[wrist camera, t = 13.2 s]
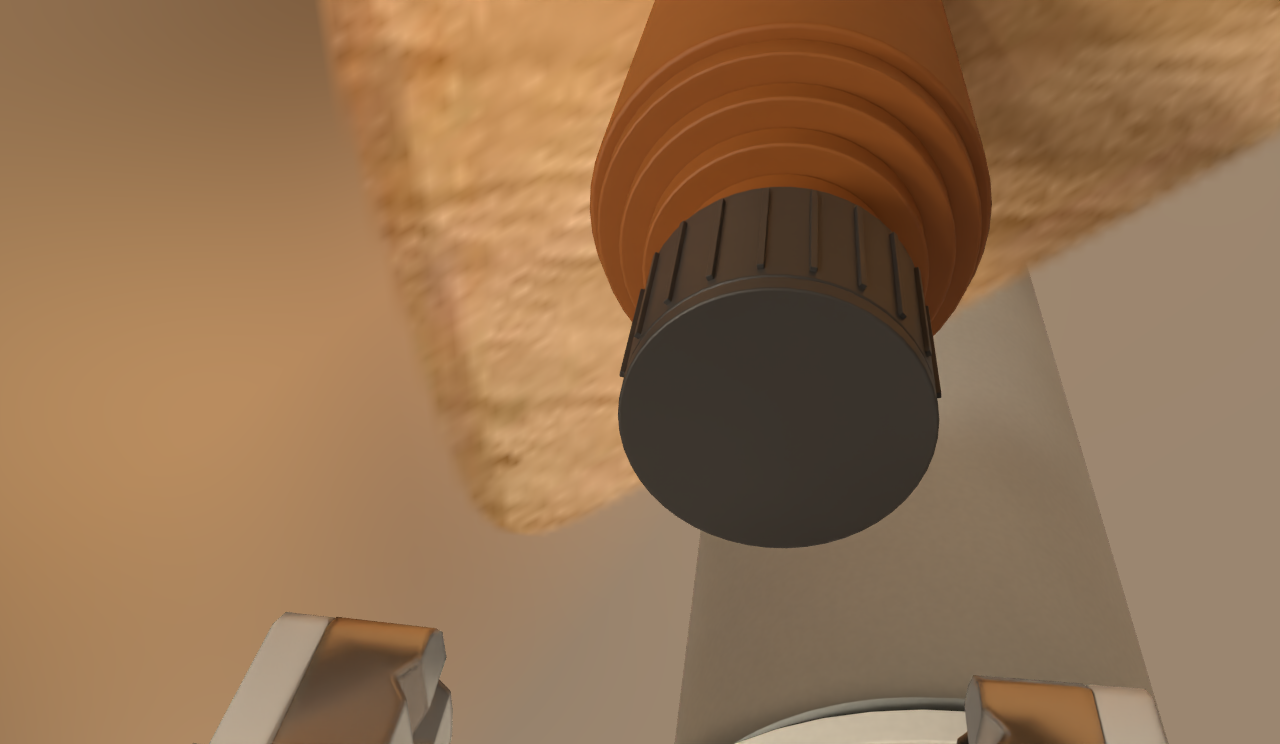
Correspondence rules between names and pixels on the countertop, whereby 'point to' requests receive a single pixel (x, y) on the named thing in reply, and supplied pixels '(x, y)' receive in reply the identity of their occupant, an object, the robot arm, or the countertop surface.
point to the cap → (781, 371)
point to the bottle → (795, 129)
